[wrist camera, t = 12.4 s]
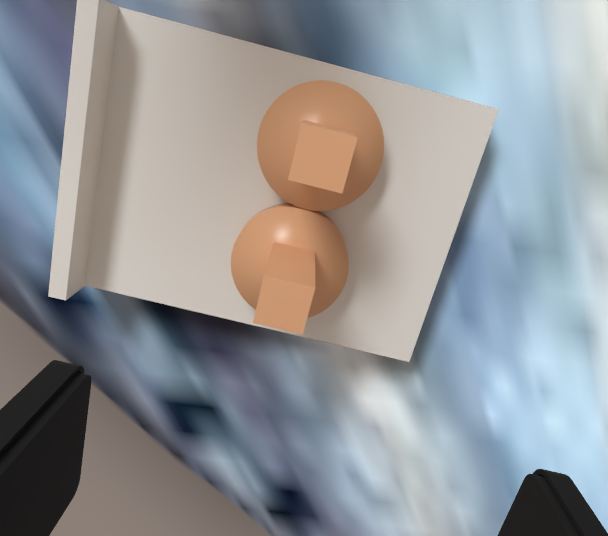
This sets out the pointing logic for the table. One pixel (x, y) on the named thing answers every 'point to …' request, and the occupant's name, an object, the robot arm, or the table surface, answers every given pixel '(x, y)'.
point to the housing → (253, 172)
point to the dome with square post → (289, 265)
